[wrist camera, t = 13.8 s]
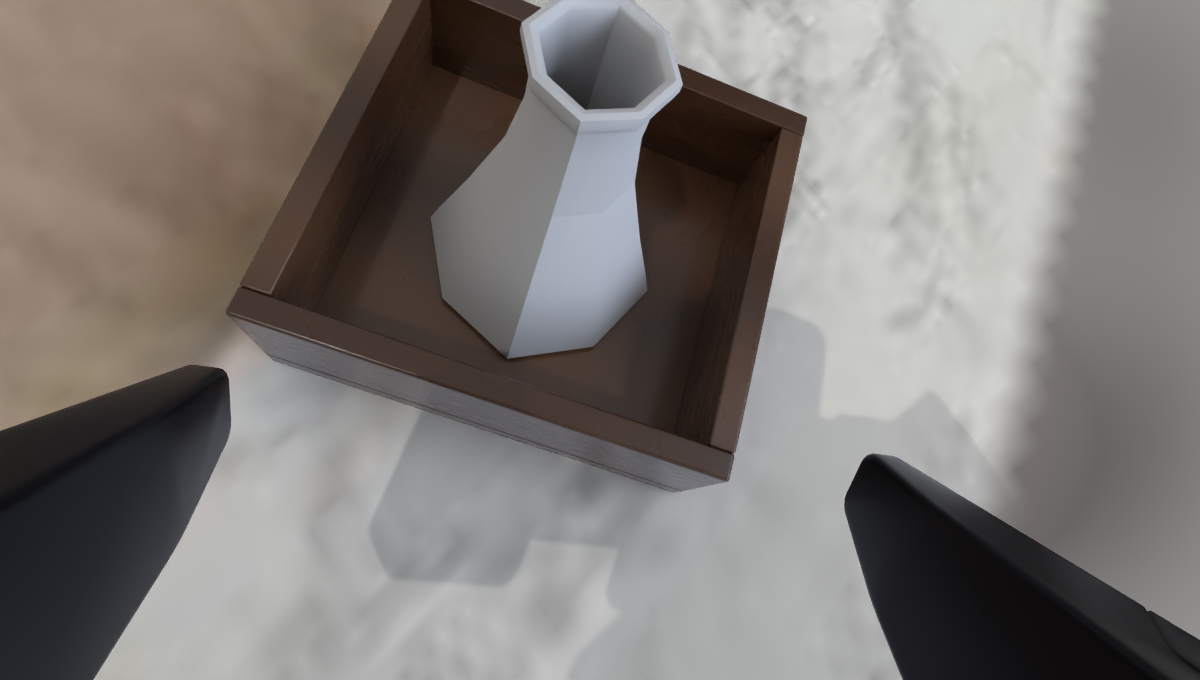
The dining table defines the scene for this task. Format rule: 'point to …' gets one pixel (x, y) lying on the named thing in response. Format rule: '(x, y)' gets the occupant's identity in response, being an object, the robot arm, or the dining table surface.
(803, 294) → the dining table surface
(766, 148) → the crate
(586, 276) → the flask
